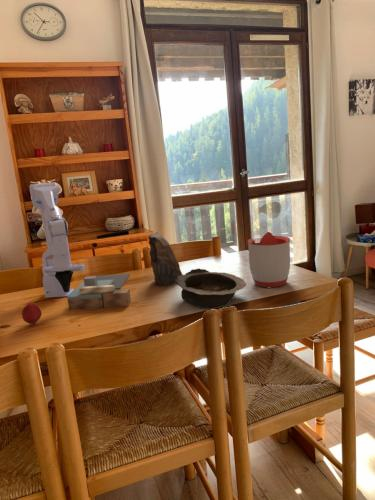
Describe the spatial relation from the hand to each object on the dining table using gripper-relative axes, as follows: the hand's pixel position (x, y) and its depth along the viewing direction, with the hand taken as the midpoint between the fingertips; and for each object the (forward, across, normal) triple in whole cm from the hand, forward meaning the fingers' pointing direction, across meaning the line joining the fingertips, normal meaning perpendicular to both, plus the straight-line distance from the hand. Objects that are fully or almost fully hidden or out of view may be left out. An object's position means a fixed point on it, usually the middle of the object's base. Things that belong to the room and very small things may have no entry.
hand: (67, 291), depth 140 cm
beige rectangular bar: (+1, +11, 0) cm, 11 cm away
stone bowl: (+7, +51, 0) cm, 51 cm away
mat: (+6, +7, +28) cm, 29 cm away
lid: (+2, +7, +6) cm, 9 cm away
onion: (+6, -7, -14) cm, 17 cm away
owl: (+6, +33, +24) cm, 41 cm away
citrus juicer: (+6, +73, +15) cm, 75 cm away
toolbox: (+6, +11, +6) cm, 14 cm away
